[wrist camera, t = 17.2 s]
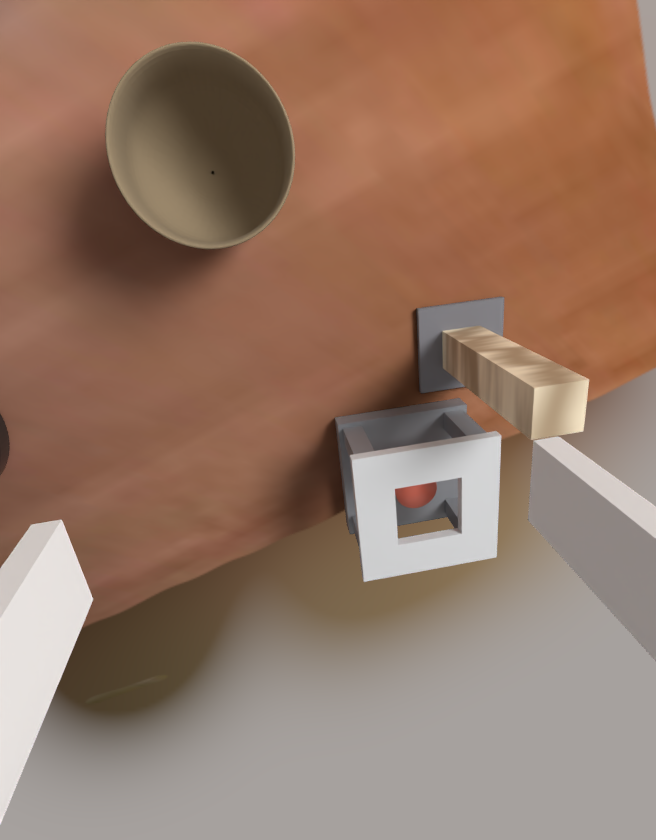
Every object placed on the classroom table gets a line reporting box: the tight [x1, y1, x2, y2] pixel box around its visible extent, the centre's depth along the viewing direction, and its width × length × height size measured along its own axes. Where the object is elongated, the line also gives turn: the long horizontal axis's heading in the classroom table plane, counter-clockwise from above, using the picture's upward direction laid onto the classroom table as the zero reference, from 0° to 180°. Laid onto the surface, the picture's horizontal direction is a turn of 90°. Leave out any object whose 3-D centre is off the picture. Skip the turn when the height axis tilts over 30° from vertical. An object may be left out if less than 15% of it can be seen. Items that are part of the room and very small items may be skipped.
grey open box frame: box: [335, 398, 501, 582], centre depth 51 cm, size 14×14×10 cm
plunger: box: [395, 482, 437, 508], centre depth 53 cm, size 4×4×5 cm
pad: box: [417, 297, 504, 393], centre depth 51 cm, size 9×9×1 cm
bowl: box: [105, 42, 295, 249], centre depth 37 cm, size 13×13×10 cm
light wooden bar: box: [442, 326, 589, 440], centre depth 43 cm, size 4×4×18 cm
